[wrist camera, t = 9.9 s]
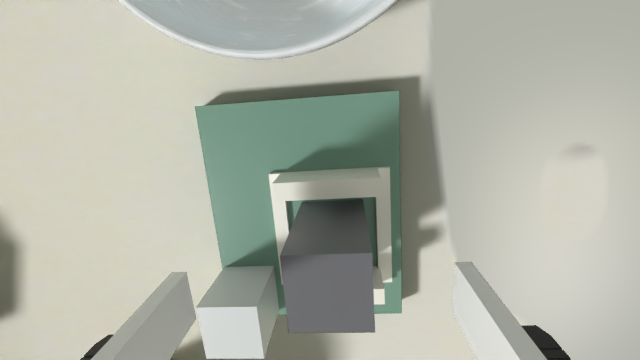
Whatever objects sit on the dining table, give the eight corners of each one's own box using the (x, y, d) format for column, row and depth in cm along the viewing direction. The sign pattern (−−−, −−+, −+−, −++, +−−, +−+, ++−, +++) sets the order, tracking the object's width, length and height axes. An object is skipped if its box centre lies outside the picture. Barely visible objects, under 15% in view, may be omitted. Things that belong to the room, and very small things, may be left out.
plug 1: (224, 266, 25) (195, 307, 20) (273, 265, 25) (256, 306, 20) (231, 310, 26) (206, 358, 21) (279, 309, 26) (264, 358, 21)
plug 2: (301, 202, 23) (279, 255, 15) (363, 199, 23) (372, 253, 15) (306, 261, 24) (289, 337, 17) (365, 259, 24) (375, 337, 16)
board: (204, 105, 23) (172, 108, 19) (395, 90, 22) (407, 89, 18) (236, 303, 28) (216, 342, 23) (398, 301, 26) (409, 341, 22)
